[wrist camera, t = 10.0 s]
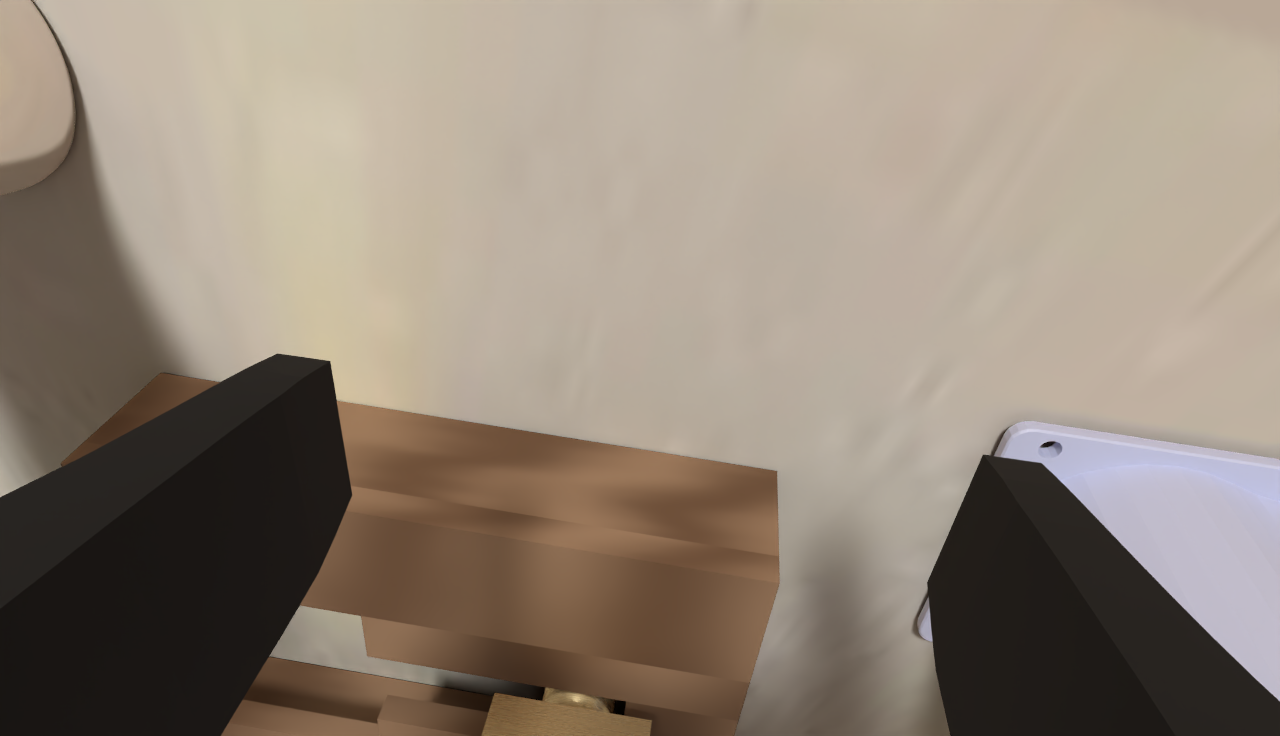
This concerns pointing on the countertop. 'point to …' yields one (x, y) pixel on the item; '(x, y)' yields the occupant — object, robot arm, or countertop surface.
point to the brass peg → (560, 716)
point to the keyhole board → (521, 575)
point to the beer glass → (31, 98)
